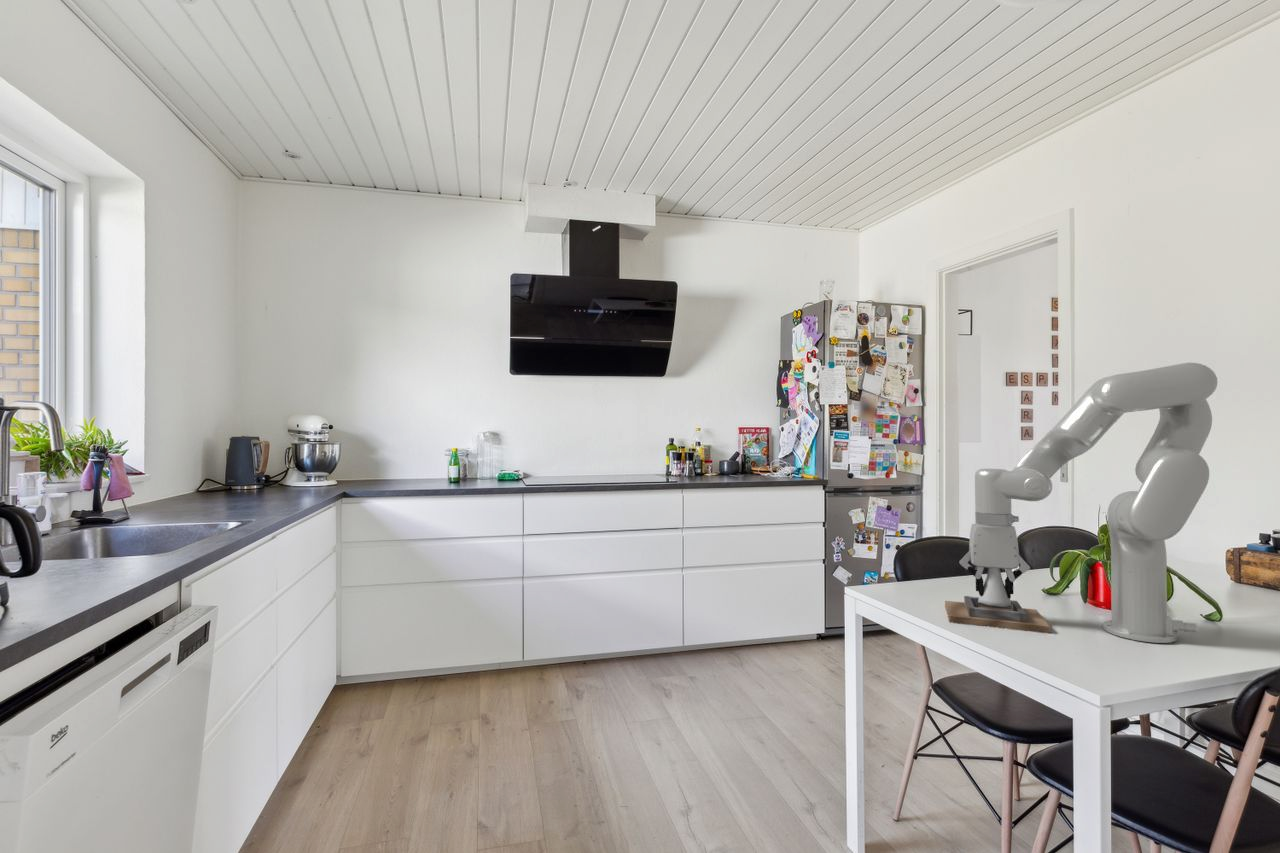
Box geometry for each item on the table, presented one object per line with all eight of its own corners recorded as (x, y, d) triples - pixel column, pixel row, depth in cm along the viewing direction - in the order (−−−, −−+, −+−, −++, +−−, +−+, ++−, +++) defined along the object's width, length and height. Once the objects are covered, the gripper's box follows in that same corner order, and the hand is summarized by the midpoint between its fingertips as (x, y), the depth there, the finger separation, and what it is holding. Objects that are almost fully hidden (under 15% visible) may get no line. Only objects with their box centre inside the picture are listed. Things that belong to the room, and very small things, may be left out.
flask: (1005, 609, 138) (1004, 566, 139) (972, 603, 144) (971, 561, 144) (1016, 603, 143) (1016, 561, 143) (984, 597, 149) (983, 557, 149)
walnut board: (1036, 615, 146) (1036, 601, 146) (1049, 633, 133) (1049, 617, 133) (944, 606, 154) (944, 592, 154) (949, 622, 141) (949, 607, 141)
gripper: (1031, 519, 144) (1032, 595, 144) (952, 516, 151) (953, 588, 150) (1038, 524, 137) (1039, 603, 137) (954, 520, 144) (955, 596, 144)
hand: (994, 594), depth 144 cm, fingers closed on flask, 5 cm apart
